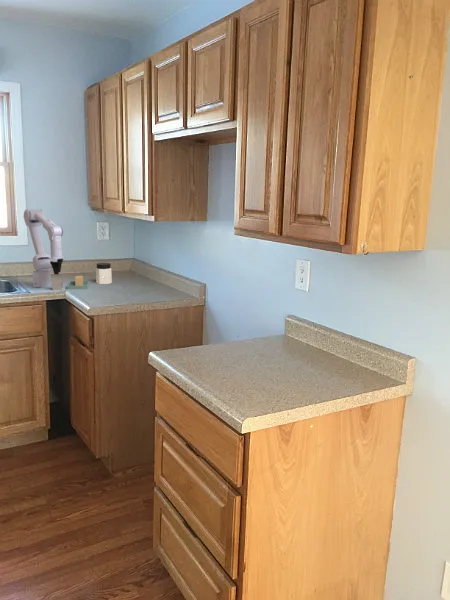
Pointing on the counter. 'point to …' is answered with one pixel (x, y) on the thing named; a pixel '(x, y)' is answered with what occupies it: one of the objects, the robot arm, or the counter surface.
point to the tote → (72, 286)
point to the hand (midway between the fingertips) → (57, 273)
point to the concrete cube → (57, 285)
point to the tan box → (79, 281)
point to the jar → (103, 273)
